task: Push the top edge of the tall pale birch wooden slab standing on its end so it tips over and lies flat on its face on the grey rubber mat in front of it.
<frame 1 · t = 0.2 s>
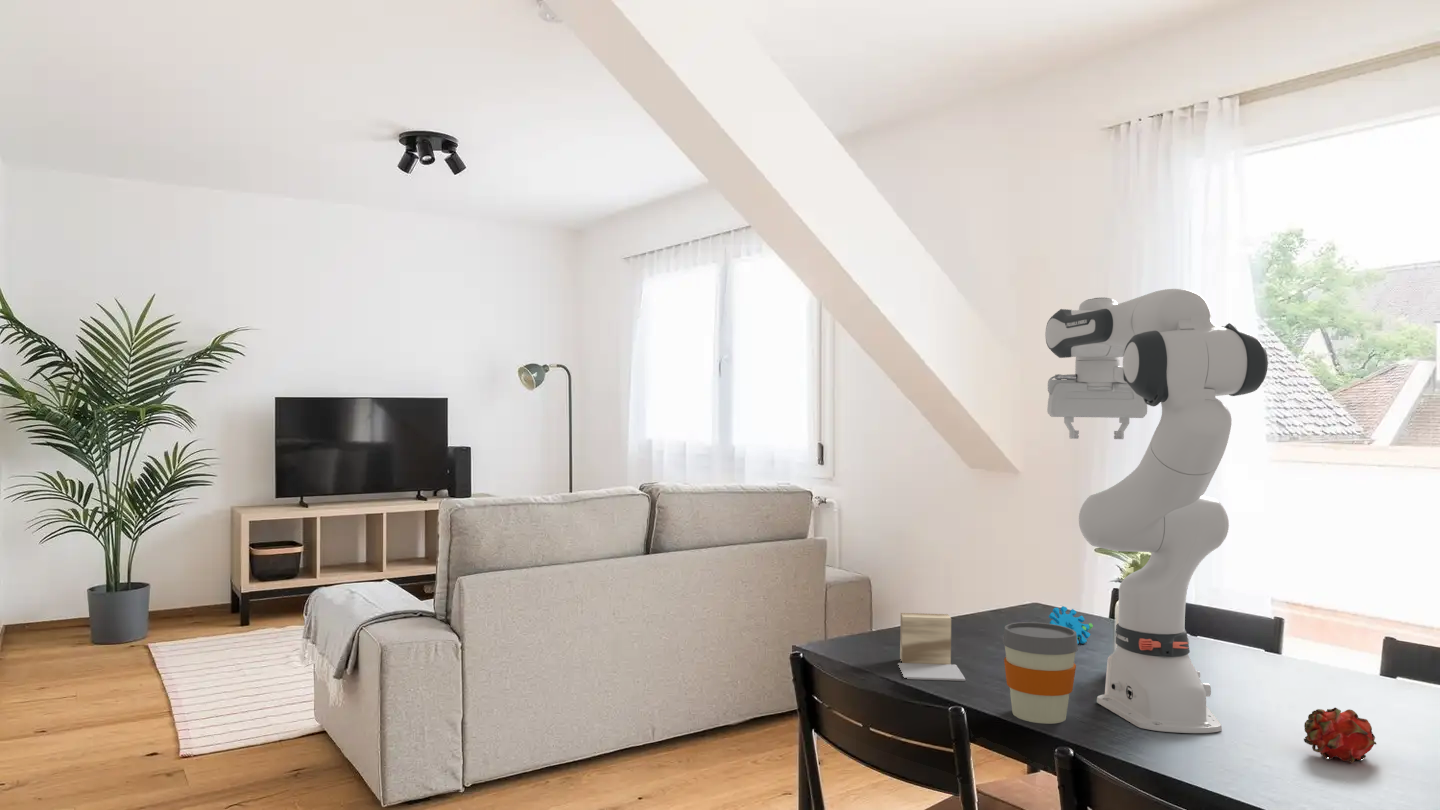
hand: (1096, 439, 205), 48 cm above the table, fingers open, 8 cm apart
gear: (1071, 642, 222), on the table
dragon fruit: (1340, 759, 149), on the table
birch slab: (925, 662, 202), on the table
reusable coffee cup: (1038, 716, 168), on the table
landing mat: (930, 672, 194), on the table
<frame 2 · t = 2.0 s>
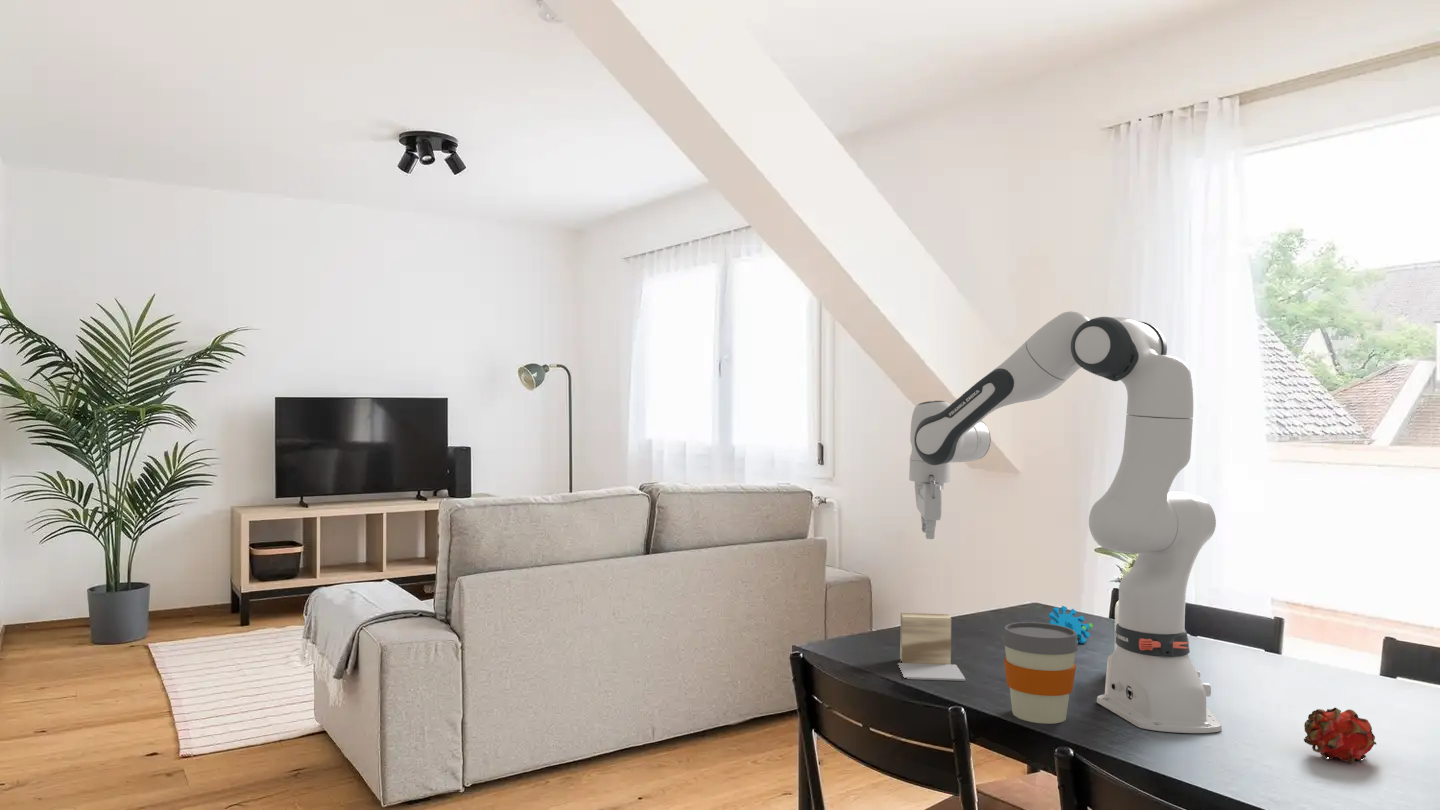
hand: (927, 535, 213), 25 cm above the table, fingers open, 8 cm apart
nothing on the table moved.
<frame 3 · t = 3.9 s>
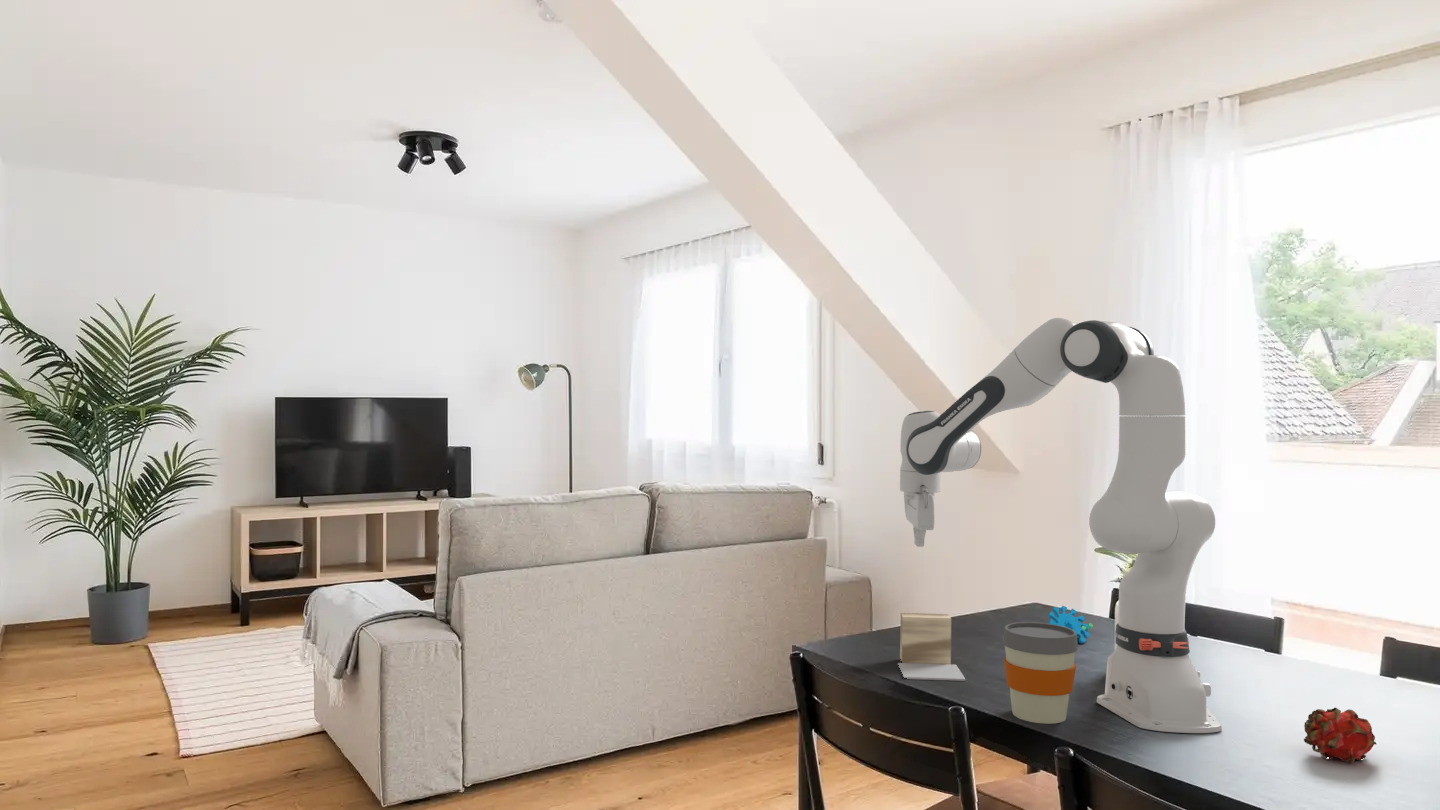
hand: (919, 545, 213), 23 cm above the table, fingers closed
nothing on the table moved.
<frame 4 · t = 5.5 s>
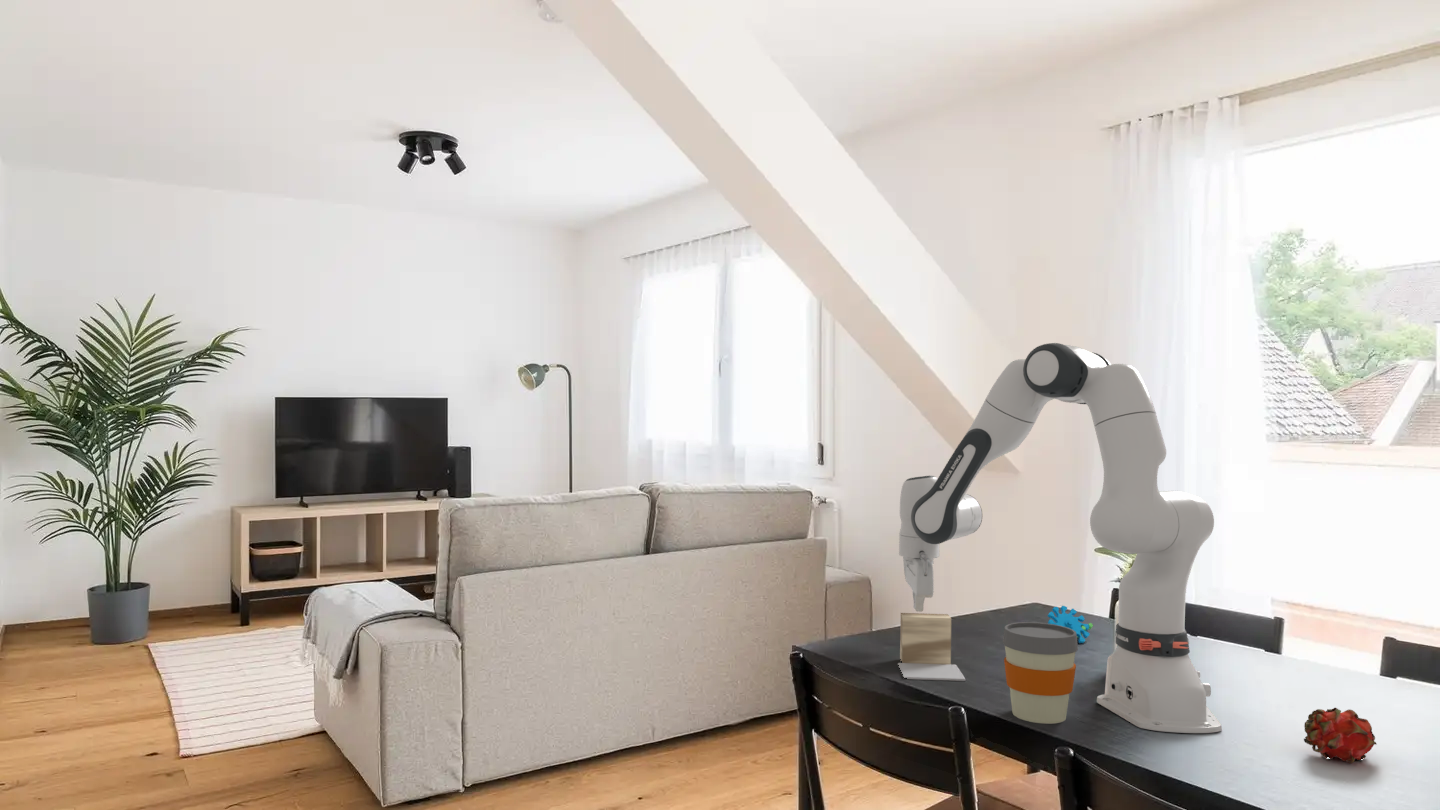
hand: (918, 610, 213), 9 cm above the table, fingers closed
nothing on the table moved.
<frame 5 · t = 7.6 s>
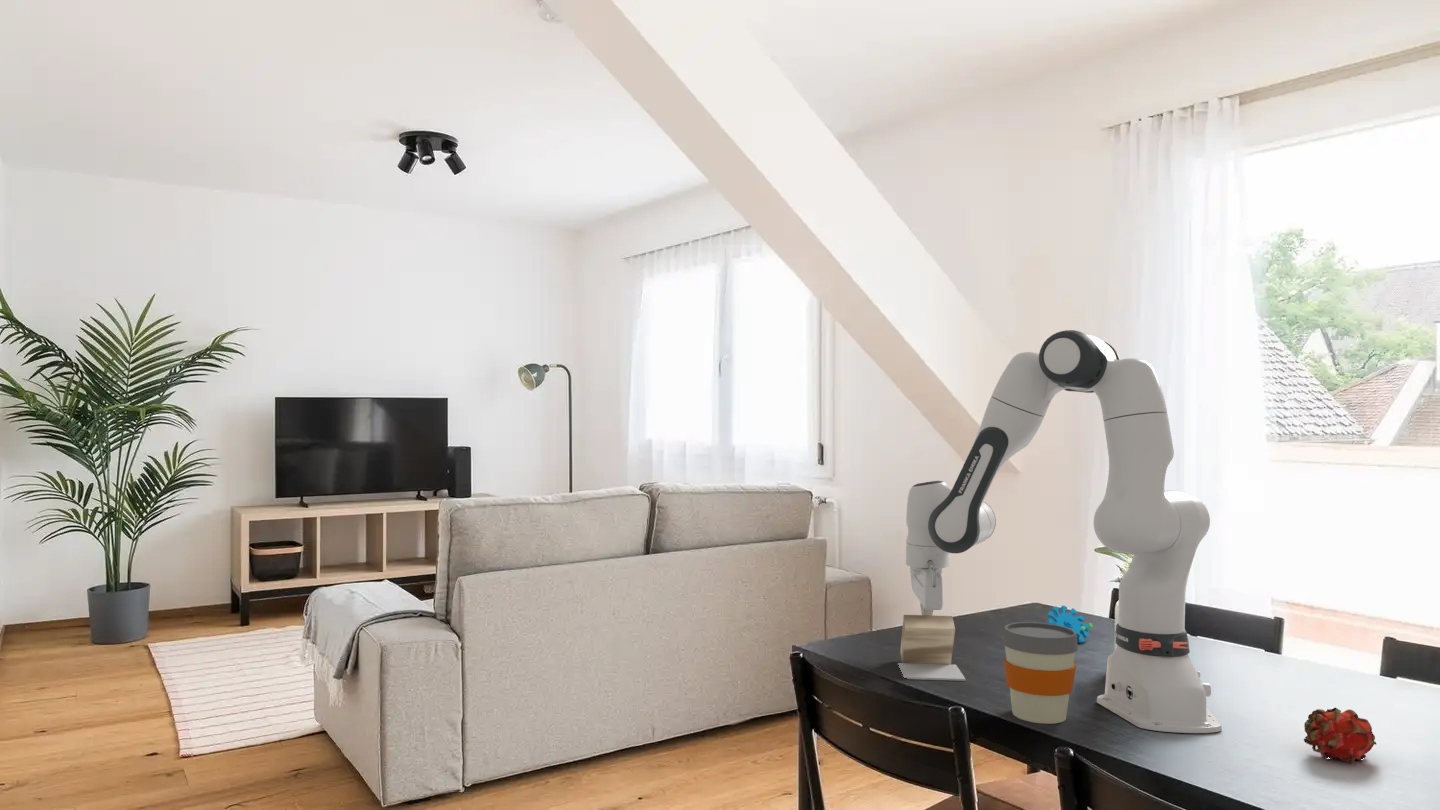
hand: (926, 622, 202), 8 cm above the table, fingers closed
birch slab: (925, 658, 202), point 1 cm above the table, tilted 28°
everything else where it was.
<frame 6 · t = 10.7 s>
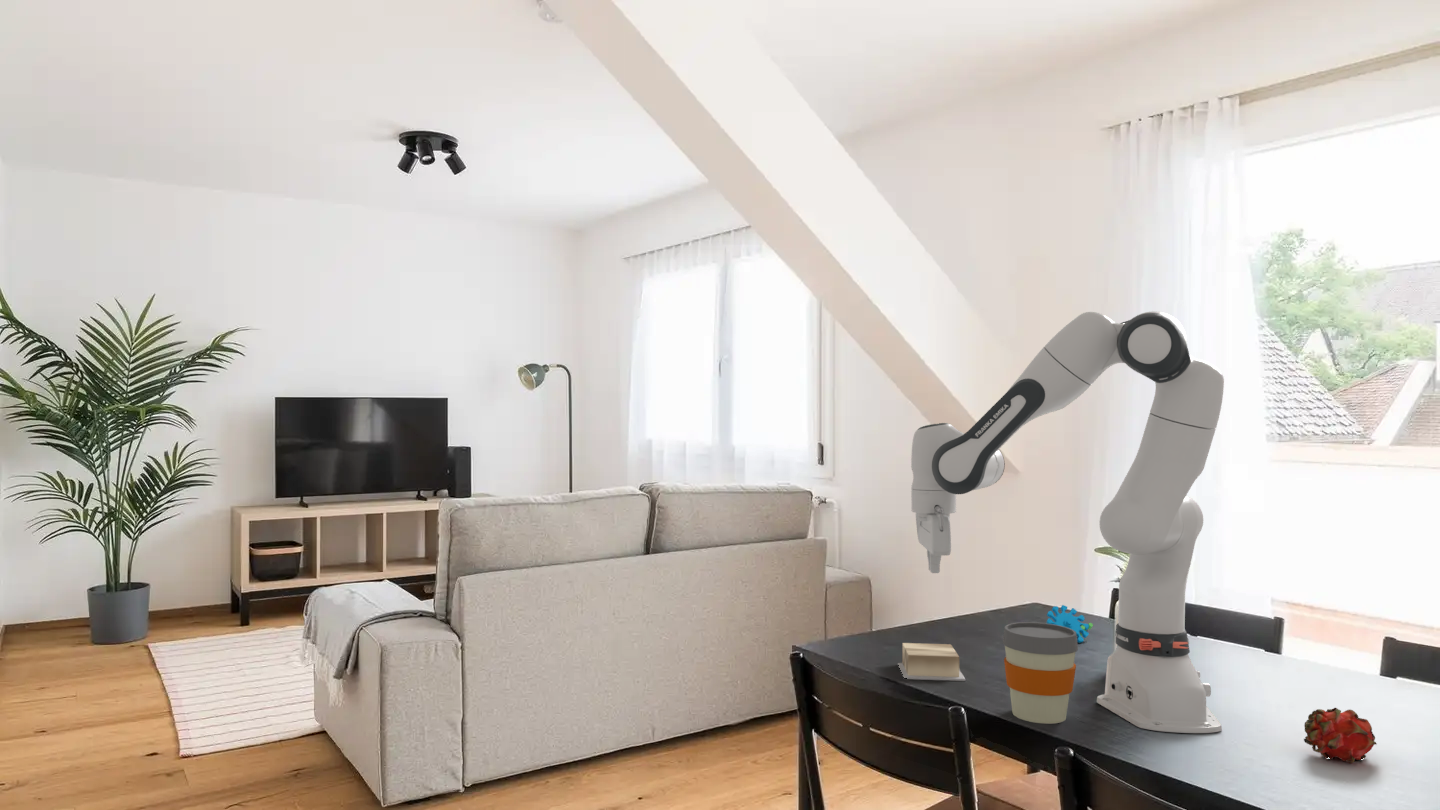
hand: (934, 572, 193), 21 cm above the table, fingers closed
birch slab: (926, 653, 200), point 2 cm above the table, tilted 90°, touching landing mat
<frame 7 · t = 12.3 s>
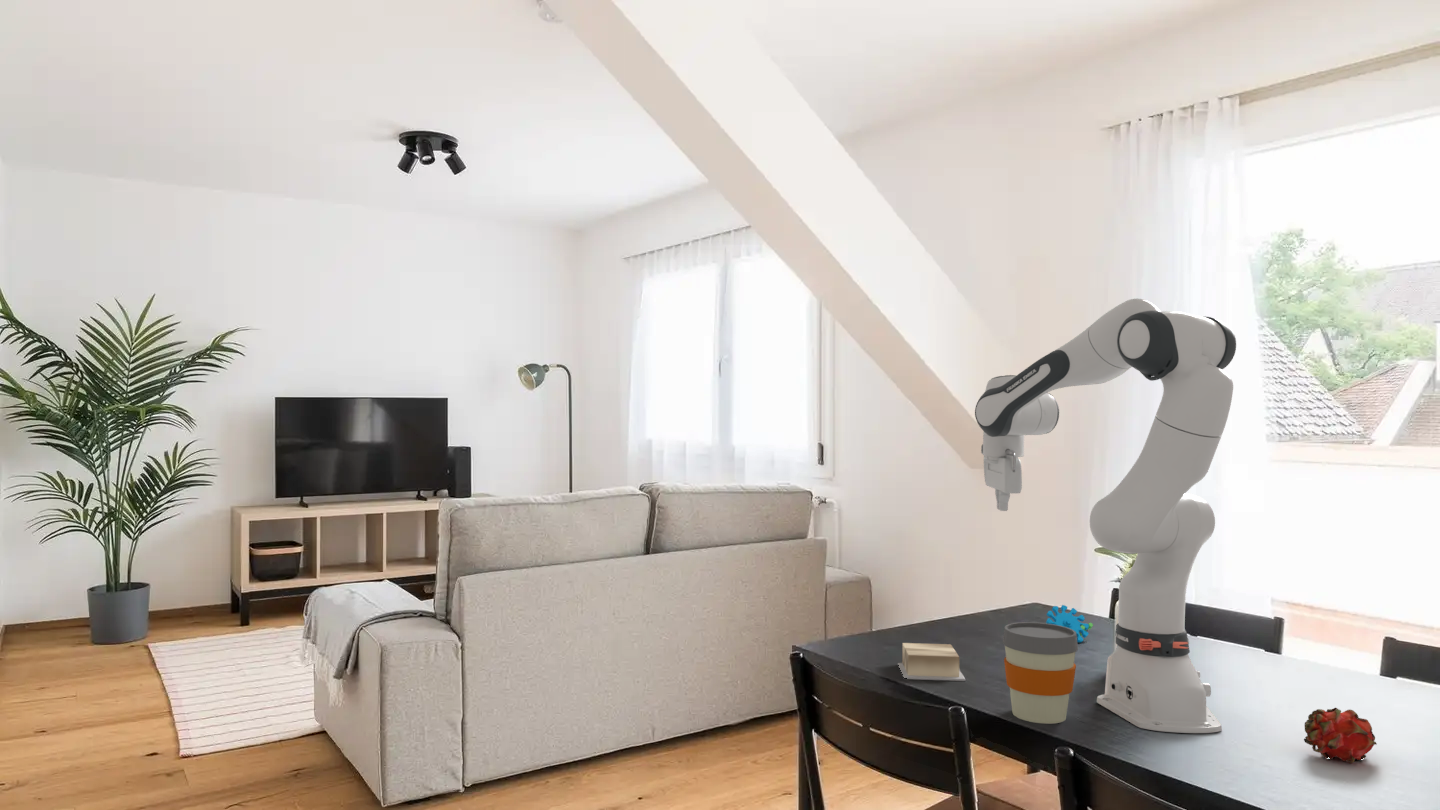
hand: (1002, 510, 213), 31 cm above the table, fingers closed
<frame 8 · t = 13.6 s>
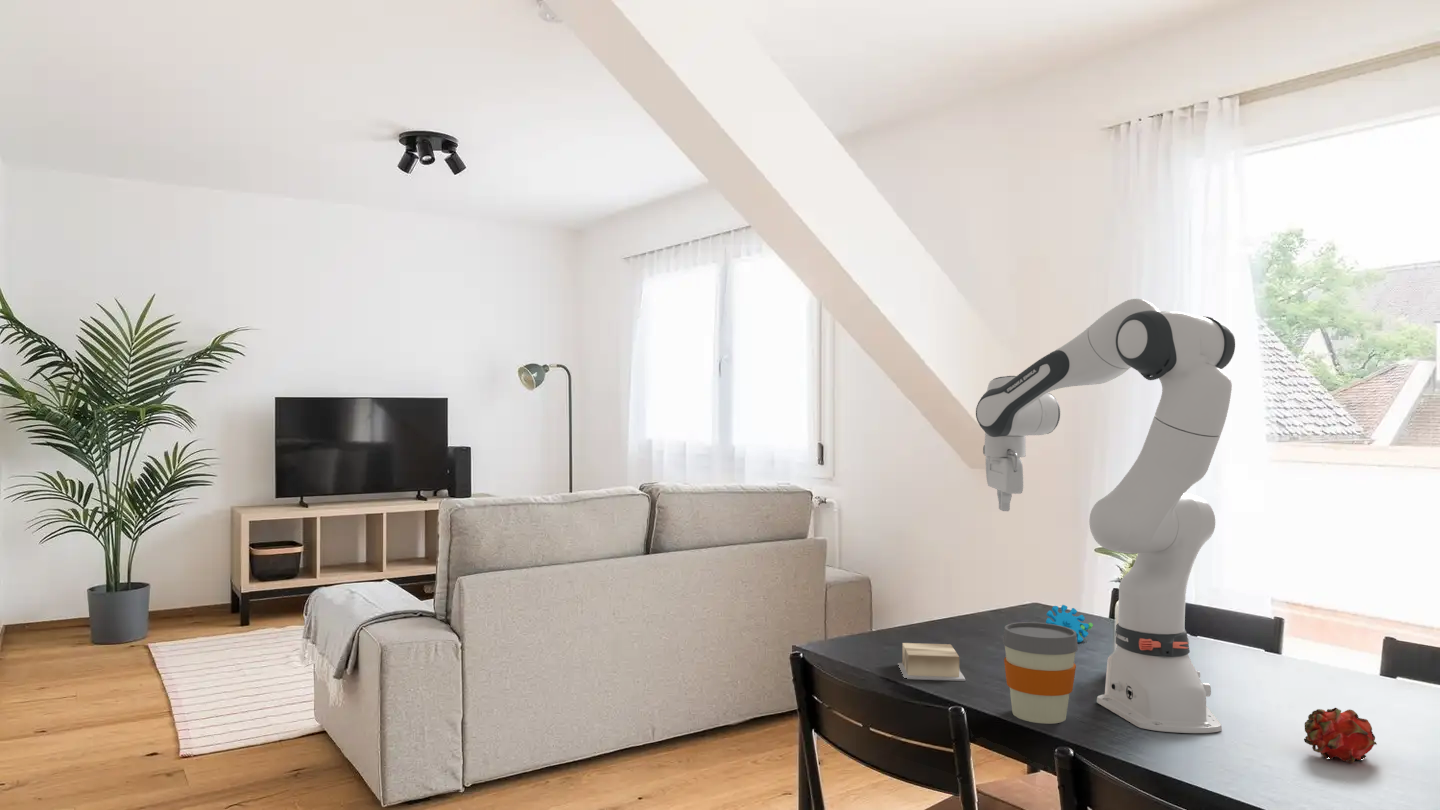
hand: (1004, 510, 214), 31 cm above the table, fingers closed
at the end: birch slab tilted 90°; birch slab inside the target area (3.3 cm from its centre), point 2.4 cm above the table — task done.
